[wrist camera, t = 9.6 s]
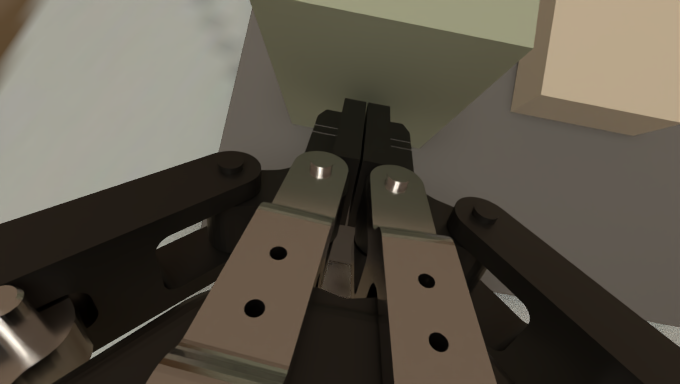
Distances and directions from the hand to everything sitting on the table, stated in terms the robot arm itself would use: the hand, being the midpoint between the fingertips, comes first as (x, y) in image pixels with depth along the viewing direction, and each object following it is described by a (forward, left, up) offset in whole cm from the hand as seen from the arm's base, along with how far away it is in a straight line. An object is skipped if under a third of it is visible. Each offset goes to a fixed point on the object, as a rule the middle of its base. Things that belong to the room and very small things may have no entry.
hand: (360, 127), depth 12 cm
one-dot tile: (0, -2, -4) cm, 5 cm away
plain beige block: (-10, -3, -3) cm, 11 cm away
